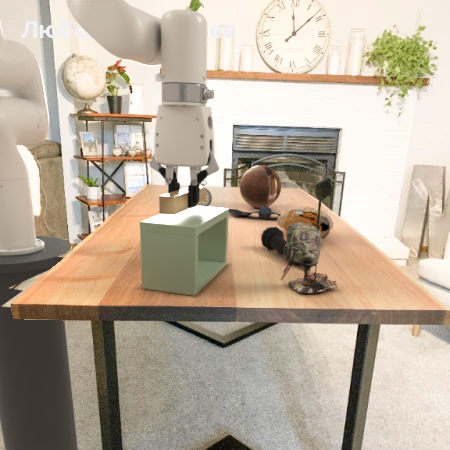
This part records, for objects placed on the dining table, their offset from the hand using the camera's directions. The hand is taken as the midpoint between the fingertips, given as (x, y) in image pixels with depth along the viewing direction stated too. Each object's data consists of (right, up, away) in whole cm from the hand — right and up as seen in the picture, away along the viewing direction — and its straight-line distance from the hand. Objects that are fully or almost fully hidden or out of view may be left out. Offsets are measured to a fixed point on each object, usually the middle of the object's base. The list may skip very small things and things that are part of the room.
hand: (183, 205), depth 82 cm
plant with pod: (+23, -15, +1) cm, 28 cm away
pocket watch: (-1, +13, +70) cm, 71 cm away
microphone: (+21, -8, +20) cm, 30 cm away
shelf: (0, -13, +5) cm, 14 cm away
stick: (0, 0, 0) cm, 0 cm away
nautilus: (+29, -1, +37) cm, 47 cm away
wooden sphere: (+20, +16, +81) cm, 85 cm away
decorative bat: (+21, +9, +63) cm, 67 cm away
